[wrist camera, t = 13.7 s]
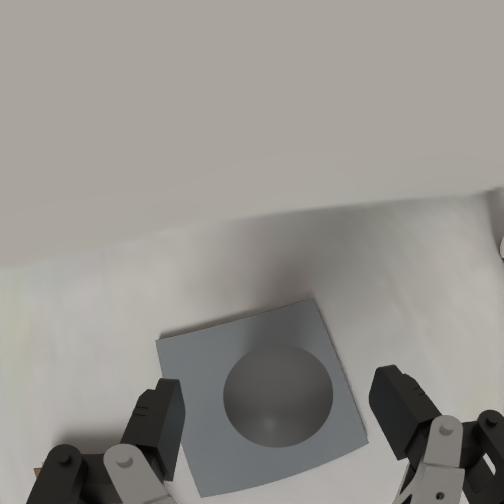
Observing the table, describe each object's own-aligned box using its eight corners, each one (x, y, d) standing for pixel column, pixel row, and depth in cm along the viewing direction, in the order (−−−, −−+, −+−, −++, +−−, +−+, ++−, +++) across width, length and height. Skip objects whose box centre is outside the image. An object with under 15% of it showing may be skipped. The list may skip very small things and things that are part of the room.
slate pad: (311, 300, 21) (312, 297, 21) (365, 442, 15) (368, 443, 15) (157, 342, 19) (155, 340, 19) (202, 495, 13) (200, 497, 13)
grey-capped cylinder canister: (283, 363, 18) (312, 330, 11) (303, 418, 16) (347, 423, 9) (223, 380, 17) (210, 360, 10) (242, 437, 15) (242, 461, 8)
